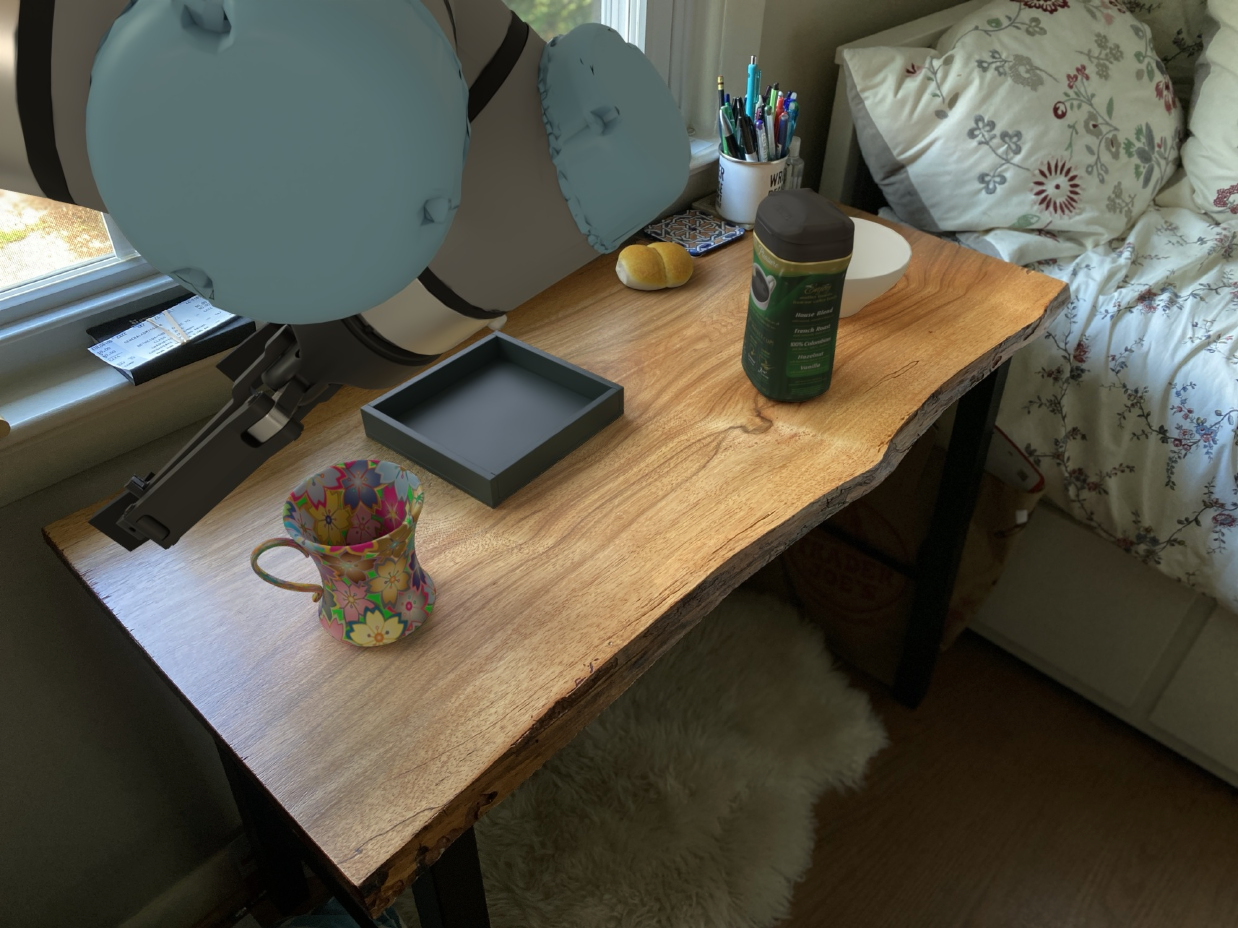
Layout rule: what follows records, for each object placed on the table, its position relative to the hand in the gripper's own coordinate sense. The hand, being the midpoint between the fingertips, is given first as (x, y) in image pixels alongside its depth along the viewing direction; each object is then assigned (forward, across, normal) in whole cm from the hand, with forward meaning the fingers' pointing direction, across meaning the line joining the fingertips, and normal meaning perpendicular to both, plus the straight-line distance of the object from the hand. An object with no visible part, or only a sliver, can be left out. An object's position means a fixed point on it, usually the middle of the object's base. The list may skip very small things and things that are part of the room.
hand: (178, 448), depth 56 cm
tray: (+6, +27, -22) cm, 35 cm away
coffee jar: (-14, +40, -39) cm, 58 cm away
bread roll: (+1, +59, -30) cm, 66 cm away
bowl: (-15, +57, -43) cm, 73 cm away
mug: (+6, +2, -18) cm, 19 cm away
